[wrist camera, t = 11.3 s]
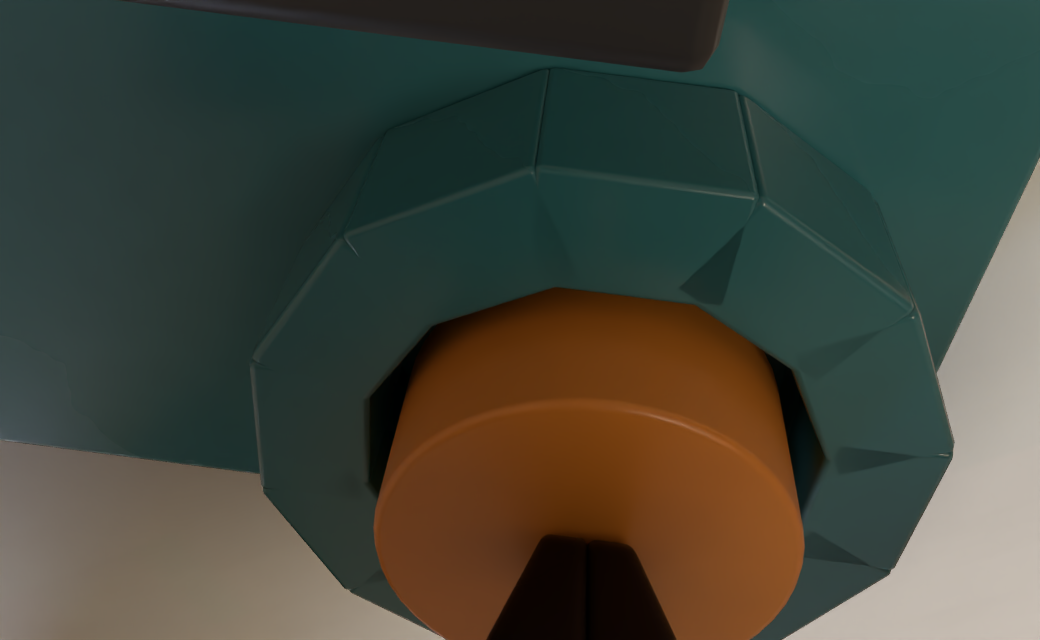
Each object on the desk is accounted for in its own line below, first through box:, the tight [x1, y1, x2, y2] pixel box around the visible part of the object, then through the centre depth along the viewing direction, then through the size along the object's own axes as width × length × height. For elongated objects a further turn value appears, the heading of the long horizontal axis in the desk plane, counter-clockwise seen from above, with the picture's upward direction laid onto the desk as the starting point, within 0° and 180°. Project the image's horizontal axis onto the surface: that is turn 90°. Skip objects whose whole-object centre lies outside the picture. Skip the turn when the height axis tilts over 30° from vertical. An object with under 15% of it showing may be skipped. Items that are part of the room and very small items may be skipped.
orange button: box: [373, 287, 805, 640], centre depth 10 cm, size 4×4×2 cm
